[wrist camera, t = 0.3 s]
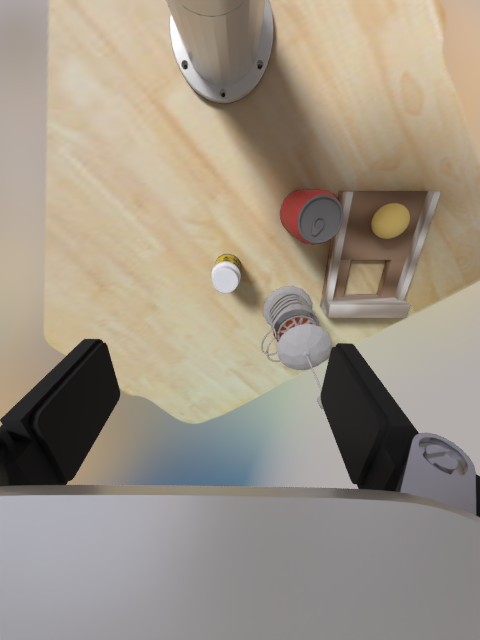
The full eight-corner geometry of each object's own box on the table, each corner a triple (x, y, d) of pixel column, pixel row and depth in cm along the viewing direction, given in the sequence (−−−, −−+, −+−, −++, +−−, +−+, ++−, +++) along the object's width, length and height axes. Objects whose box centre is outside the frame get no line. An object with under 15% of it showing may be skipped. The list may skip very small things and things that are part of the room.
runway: (339, 191, 39) (352, 191, 34) (427, 191, 39) (451, 191, 34) (320, 306, 48) (328, 317, 44) (390, 305, 48) (406, 317, 44)
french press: (321, 313, 49) (390, 412, 27) (273, 343, 52) (299, 454, 30) (295, 275, 45) (350, 354, 23) (245, 310, 49) (251, 409, 26)
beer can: (273, 226, 41) (285, 238, 31) (288, 183, 38) (307, 181, 28) (309, 238, 42) (332, 254, 32) (326, 197, 39) (358, 200, 29)
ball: (369, 202, 38) (386, 204, 34) (401, 202, 38) (423, 204, 34) (362, 235, 41) (377, 241, 36) (392, 235, 41) (411, 241, 36)
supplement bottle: (246, 262, 44) (247, 277, 37) (231, 283, 46) (230, 301, 39) (223, 247, 43) (219, 259, 36) (209, 269, 45) (203, 285, 37)
